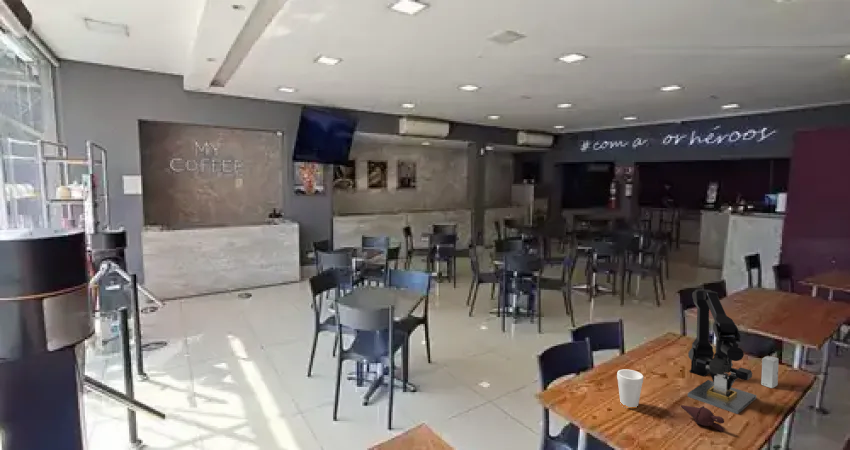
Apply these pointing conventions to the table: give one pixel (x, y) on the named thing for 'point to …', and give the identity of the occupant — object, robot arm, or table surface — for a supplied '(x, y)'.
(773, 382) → the skincare box
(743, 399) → the grey peg insertion board
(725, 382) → the brushed metal block
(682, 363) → the table surface
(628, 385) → the foam cup
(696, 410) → the icecream
